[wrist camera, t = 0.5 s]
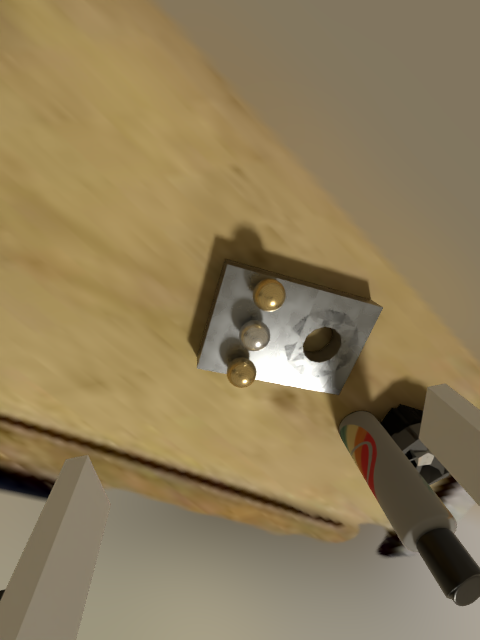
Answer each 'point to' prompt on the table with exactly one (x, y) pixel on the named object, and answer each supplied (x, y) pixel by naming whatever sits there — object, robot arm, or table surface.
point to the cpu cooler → (413, 442)
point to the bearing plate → (287, 330)
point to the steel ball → (254, 335)
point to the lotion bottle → (411, 506)
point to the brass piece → (241, 372)
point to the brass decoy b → (269, 295)
